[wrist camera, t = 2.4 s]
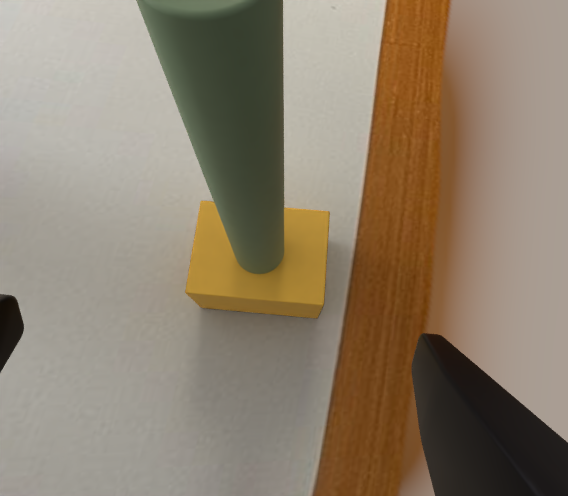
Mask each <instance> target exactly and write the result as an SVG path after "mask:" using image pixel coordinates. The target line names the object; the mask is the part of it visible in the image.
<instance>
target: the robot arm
mask: <svg viewBox="0 0 568 496" xmlns="http://www.w3.org/2000/svg"><path fill="white" fill-rule="evenodd" d="M23 331H24V324H23V320H22V316H21V313H20V309H19V305H18V302H17V299H16V298H15V297H14V296H12V295H4V294H0V372H1V371H2V369H3V367H4V365H5V364H6V362H7V360H8V359H9V357H10V355H11V354H12V352H13V350H14V349H15V347H16V345H17V343H18V342H19V340H20V338H21V337H22V334H23ZM412 378H413V385H414V392H415V400H416V407H417V414H418V422H419V429H420V435H421V441H422V445H423V450H424V453H425V457H426V461H427V465H428V469H429V473H430V477H431V481H432V485H433V489H434V492H435V496H568V443H567V442H566V441H565V440H564V439H563V438H561V437H560V436H559V435H558V434H556V432H554V431H553V430H552V429H551V428H550V427H548V426H547V425H546V424H545V423H544V422H543V421H541V420H540V419H539V418H538V417H537V416H536V415H534V414H533V413H532V412H531V411H530V410H528V409H527V408H526V407H525V406H524V405H523V404H521V403H520V402H519V401H518V400H517V399H516V398H514V397H513V396H512V395H511V394H510V393H508V392H507V391H506V390H505V389H503V388H502V387H501V386H500V385H499V384H498V383H497V382H495V381H494V380H493V379H492V378H491V377H490V376H488V375H487V374H486V373H485V372H484V371H483V370H481V369H480V368H479V367H478V366H477V365H475V364H474V363H473V362H472V361H470V359H468V358H467V357H466V356H465V355H464V354H462V353H461V352H460V351H459V350H458V349H457V348H455V347H454V346H453V345H452V344H451V343H450V342H448V341H447V340H446V339H445V338H444V337H442V336H441V335H437V334H427V333H423V334H421V335H420V337H419V339H418V343H417V346H416V350H415V354H414V358H413V362H412Z"/></svg>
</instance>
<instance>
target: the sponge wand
mask: <svg viewBox="0 0 568 496" xmlns="http://www.w3.org/2000/svg"><path fill="white" fill-rule="evenodd" d="M136 1H137V3H138V6H139V8H140V11H141V14H142V16H143V19H144V21H145V24H146V27H147V29H148V32H149V34H150V37H151V40H152V42H153V45H154V47H155V50H156V53H157V55H158V58H159V60H160V63H161V65H162V68H163V71H164V73H165V76H166V78H167V81H168V84H169V86H170V89H171V91H172V94H173V97H174V99H175V102H176V104H177V107H178V110H179V112H180V115H181V117H182V120H183V122H184V125H185V128H186V130H187V133H188V135H189V138H190V141H191V143H192V146H193V148H194V151H195V154H196V156H197V159H198V161H199V164H200V167H201V169H202V172H203V174H204V177H205V180H206V182H207V185H208V187H209V190H210V192H211V195H212V198H213V200H214V202H212V201H201V202H200V208H199V214H198V220H197V226H196V232H195V237H194V243H193V249H192V255H191V261H190V267H189V273H188V279H187V285H186V290H185V293H186V294H187V295H188V296H189V297H190V298H191V299H193V300H194V301H195V302H196V303H197V304H198V305H199V306H200V307H201V308H209V309H220V310H231V311H242V312H253V313H264V314H274V315H285V316H296V317H307V318H318V316H319V314H320V312H321V310H322V308H323V305H324V296H325V280H326V264H327V248H328V232H329V217H330V212H329V211H319V210H307V209H295V208H284V99H283V0H136Z"/></svg>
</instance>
